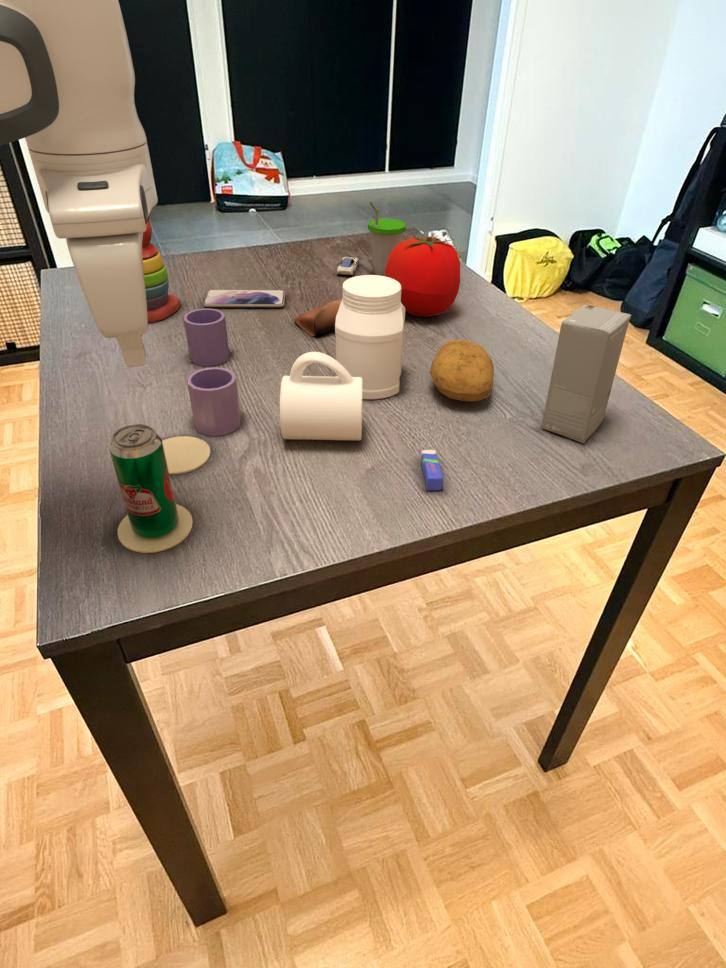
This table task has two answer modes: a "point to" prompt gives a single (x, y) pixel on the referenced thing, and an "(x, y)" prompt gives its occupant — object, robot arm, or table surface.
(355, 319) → the jar
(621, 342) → the cosmetic box
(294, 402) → the mug
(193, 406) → the purple tumbler
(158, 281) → the stacking bear
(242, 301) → the smartphone
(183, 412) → the table surface
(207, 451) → the coasters
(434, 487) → the eraser
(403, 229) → the cup
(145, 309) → the robot arm
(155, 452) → the soda can
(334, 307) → the sunglasses case
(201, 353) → the purple hollow cylinder
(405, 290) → the tomato
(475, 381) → the potato
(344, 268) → the toy car
